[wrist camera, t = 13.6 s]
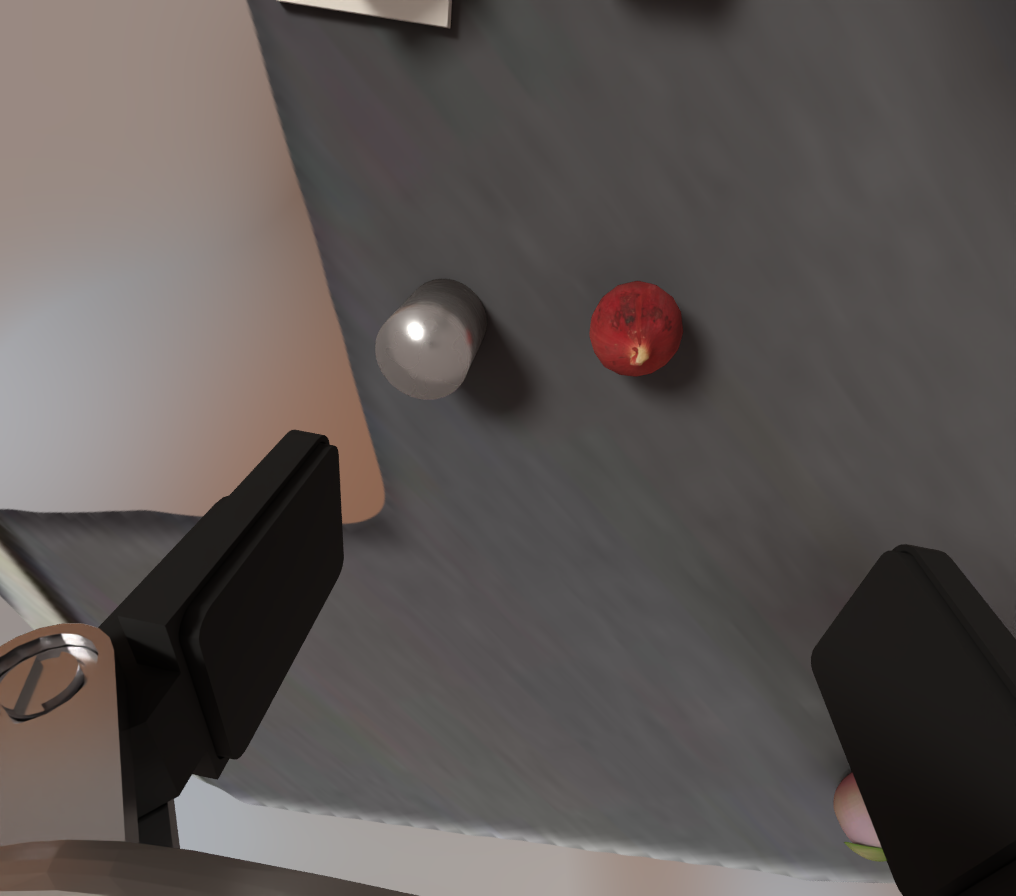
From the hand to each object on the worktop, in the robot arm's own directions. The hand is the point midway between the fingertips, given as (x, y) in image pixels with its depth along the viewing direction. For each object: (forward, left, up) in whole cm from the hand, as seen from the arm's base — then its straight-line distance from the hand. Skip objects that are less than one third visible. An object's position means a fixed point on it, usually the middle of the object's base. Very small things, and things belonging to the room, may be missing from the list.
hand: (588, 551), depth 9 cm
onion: (+5, +4, -31) cm, 31 cm away
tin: (+8, -9, -30) cm, 33 cm away
